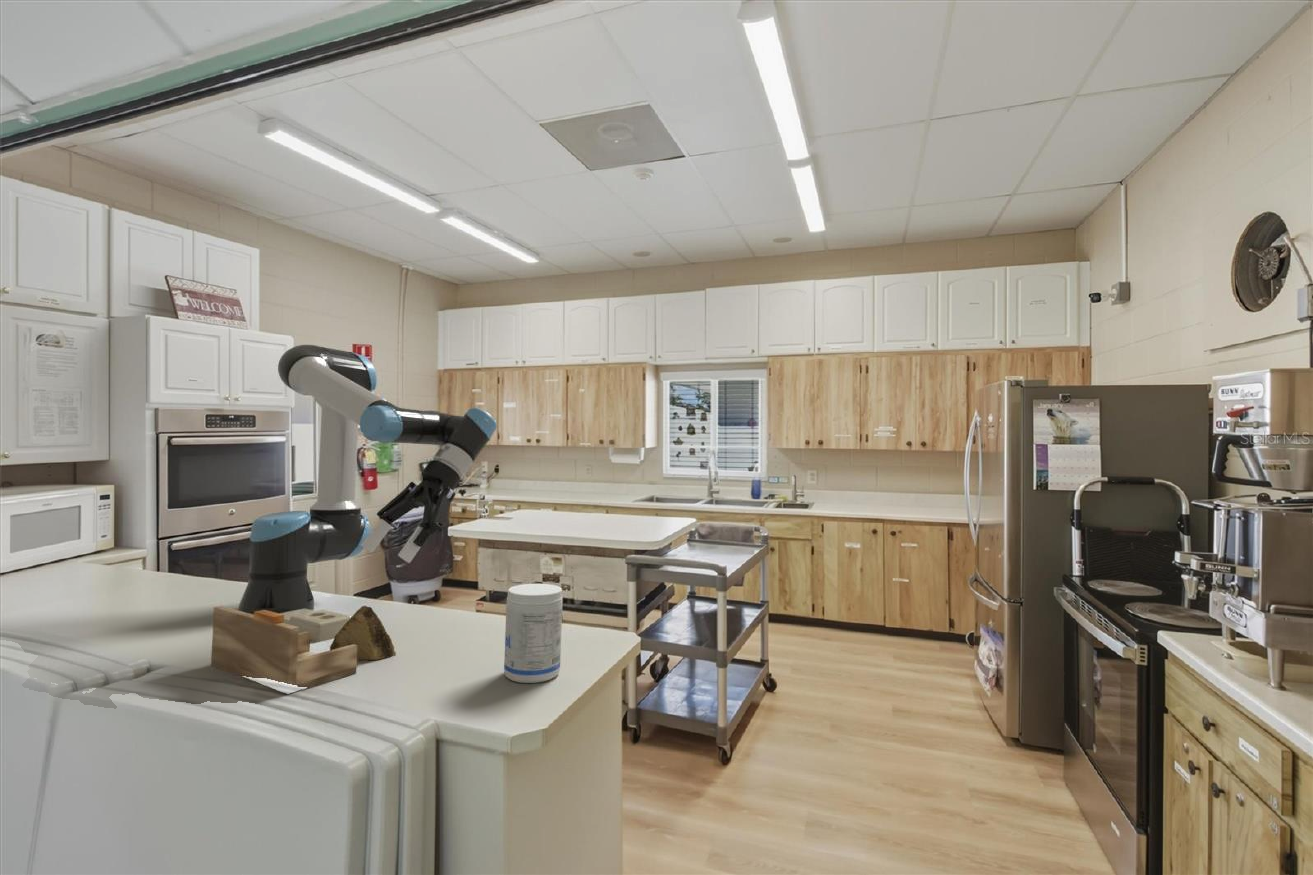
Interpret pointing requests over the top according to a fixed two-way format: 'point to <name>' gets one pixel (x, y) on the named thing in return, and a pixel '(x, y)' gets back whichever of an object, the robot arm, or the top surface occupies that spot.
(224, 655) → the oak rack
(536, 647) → the supplement tub
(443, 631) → the top surface
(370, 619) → the rock
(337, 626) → the grey cinder block
